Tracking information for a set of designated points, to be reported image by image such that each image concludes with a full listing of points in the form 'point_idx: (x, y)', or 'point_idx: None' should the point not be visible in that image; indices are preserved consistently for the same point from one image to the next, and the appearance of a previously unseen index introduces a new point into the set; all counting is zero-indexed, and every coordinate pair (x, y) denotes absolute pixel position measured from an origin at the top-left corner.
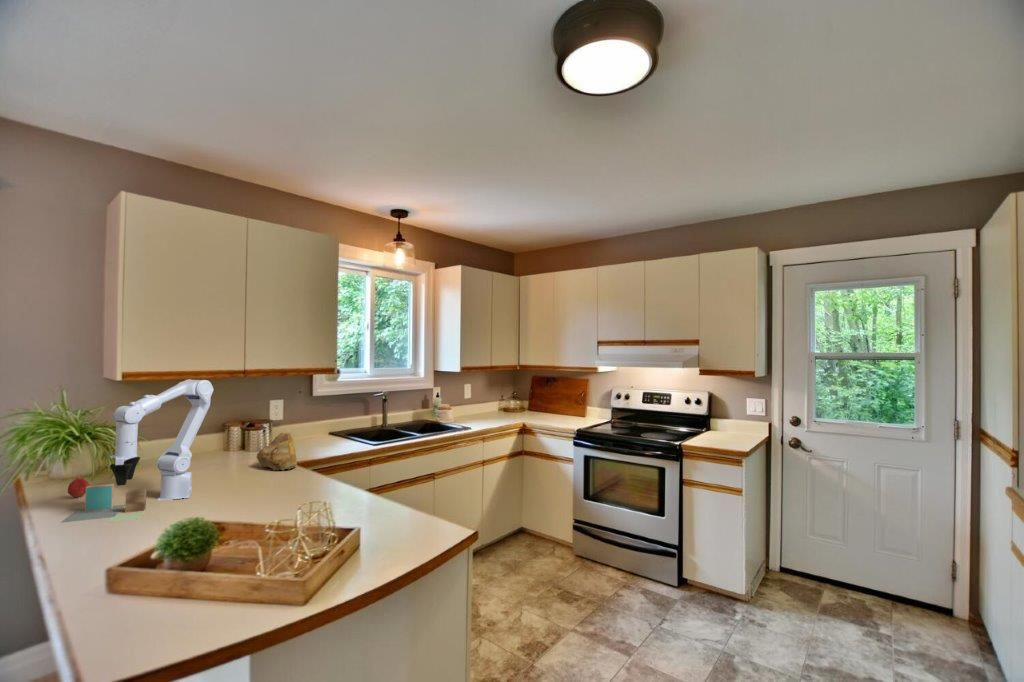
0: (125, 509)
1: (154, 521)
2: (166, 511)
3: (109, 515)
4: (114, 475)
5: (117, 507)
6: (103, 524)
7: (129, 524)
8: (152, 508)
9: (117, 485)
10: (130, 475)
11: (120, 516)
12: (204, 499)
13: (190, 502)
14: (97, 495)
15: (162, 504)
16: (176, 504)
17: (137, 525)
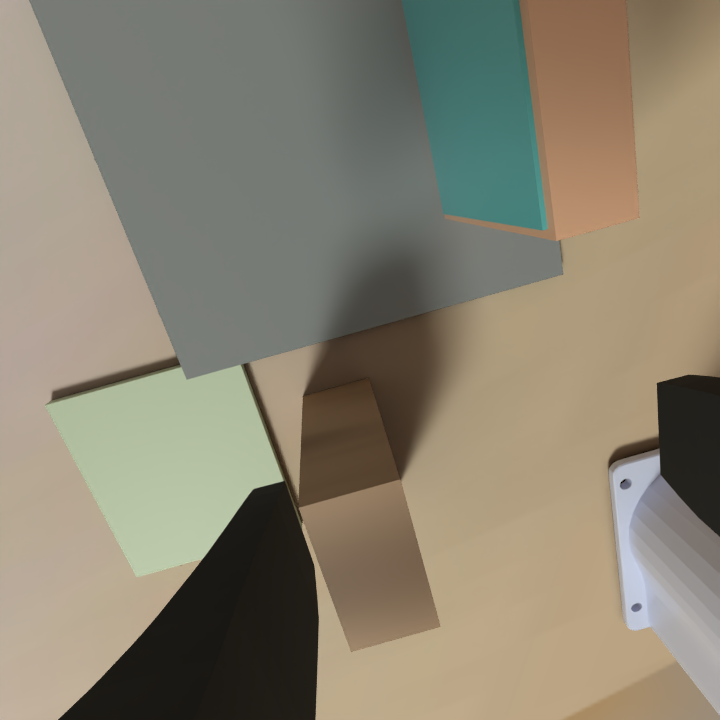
0: (302, 414)
1: (100, 671)
2: (324, 634)
3: (229, 320)
4: (144, 632)
5: (475, 251)
6: (22, 389)
7: (30, 565)
8: (419, 517)
9: (250, 495)
10: (718, 499)
11: (191, 426)
12: (567, 713)
13: (516, 671)
14: (464, 52)
15: (514, 532)
16: (489, 616)
17: (11, 622)
